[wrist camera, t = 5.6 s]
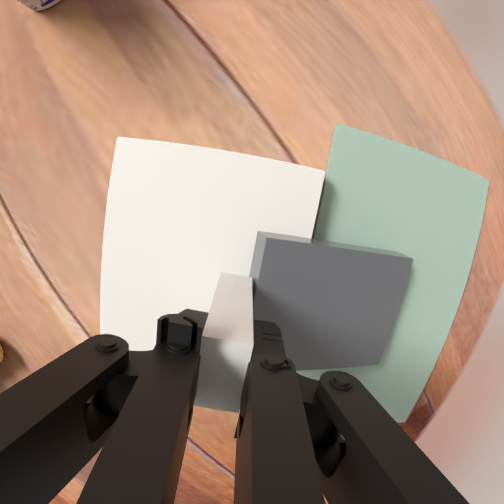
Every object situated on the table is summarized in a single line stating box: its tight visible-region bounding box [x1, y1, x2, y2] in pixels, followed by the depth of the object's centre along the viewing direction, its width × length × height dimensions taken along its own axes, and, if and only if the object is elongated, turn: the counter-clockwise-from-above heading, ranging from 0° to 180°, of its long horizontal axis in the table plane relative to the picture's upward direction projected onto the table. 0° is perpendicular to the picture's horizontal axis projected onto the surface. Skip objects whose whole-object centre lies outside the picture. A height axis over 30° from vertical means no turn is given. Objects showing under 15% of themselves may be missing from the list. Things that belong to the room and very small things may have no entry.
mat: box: [296, 123, 489, 423], centre depth 19 cm, size 20×12×1 cm, turn 169°
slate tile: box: [249, 231, 413, 371], centre depth 16 cm, size 7×9×2 cm
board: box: [100, 137, 325, 351], centre depth 17 cm, size 14×11×2 cm
